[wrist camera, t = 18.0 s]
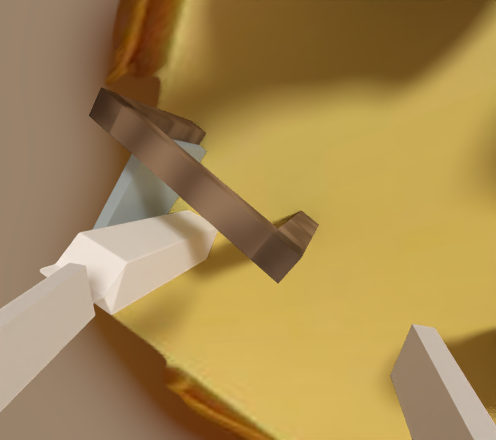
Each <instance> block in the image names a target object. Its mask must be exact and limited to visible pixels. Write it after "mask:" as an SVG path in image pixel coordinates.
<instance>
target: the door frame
mask: <svg viewBox="0 0 496 440" xmlns="http://www.w3.org/2000/svg"><path fill="white" fill-rule="evenodd" d="M89 116H90V117H91V118H92V119H93V120H94V121H96V122H97V123H98V124H99V125H100V126H101V127H102V128H103V129H105V130H106V131H107V132H108V133H109V134H110V135H111V136H112V137H114V138H115V139H116V140H117V141H118V142H119V143H120V144H121V145H123V146H124V147H125V148H126V149H127V150H128V151H129V152H130V153H132V154H133V155H134V156H135V157H136V158H137V159H138V160H139V161H141V162H142V163H143V164H144V165H145V166H146V167H147V168H148V169H150V170H151V171H152V172H153V173H154V174H155V175H156V176H157V177H159V178H160V179H161V180H162V181H163V182H164V183H165V184H166V185H168V186H169V187H170V188H171V189H172V190H173V191H174V192H175V193H177V194H178V195H179V196H180V197H181V198H182V199H183V200H184V201H186V202H187V203H188V204H189V205H190V206H191V207H192V208H193V209H195V210H196V211H197V212H198V213H199V214H200V215H201V216H202V217H204V218H205V219H206V220H207V221H208V222H209V223H210V224H211V225H213V226H214V227H215V228H216V229H217V230H218V231H219V232H220V233H222V234H223V235H224V236H225V237H226V238H227V239H228V240H229V241H231V242H232V243H233V244H234V245H235V246H236V247H237V248H238V249H240V250H241V251H242V252H243V253H244V254H245V255H246V256H247V257H249V258H250V259H251V260H252V261H253V262H254V263H255V264H256V265H258V266H259V267H260V268H261V269H262V270H263V271H264V272H265V273H267V274H268V275H269V276H270V277H271V278H272V279H273V280H274V281H276V282H277V283H279V282H280V281H281V280H282V279H283V278H284V276H285V275H286V274H287V273H288V272H289V271H290V270H291V269H292V268H293V267H294V265H295V264H296V263H297V262H298V261H299V260H300V259H301V257H302V256H303V254H304V252H305V250H306V248H307V246H308V244H309V242H310V240H311V239H312V237H313V235H314V233H315V231H316V229H317V227H318V225H319V224H317V223H316V222H315V221H314V220H312V219H311V218H310V217H309V216H307V215H306V214H305V213H304V212H303V211H300V212H299V213H298V214H296V215H295V216H294V217H292V218H291V219H290V220H289V221H287V222H286V223H285V224H283V225H282V226H281V227H279V228H278V229H277V228H276V227H275V226H274V225H273V224H272V223H270V222H269V221H268V220H267V219H266V218H264V217H263V216H262V215H261V214H260V213H259V212H257V211H256V210H255V209H254V208H253V207H251V206H250V205H249V204H248V203H247V202H246V201H244V200H243V199H242V198H241V197H240V196H238V195H237V194H236V193H235V192H234V191H232V190H231V189H230V188H229V187H228V186H227V185H225V184H224V183H223V182H222V181H221V180H219V179H218V178H217V177H216V176H215V175H214V174H212V173H211V172H210V171H209V170H208V169H206V168H205V167H204V166H203V165H202V164H201V163H199V162H198V161H197V160H196V159H195V158H193V157H192V156H191V155H190V154H189V153H187V152H186V151H185V150H184V149H183V148H182V147H180V146H179V145H178V144H177V143H176V142H174V141H173V140H172V139H174V140H178V141H183V142H187V143H192V144H196V145H199V144H200V142H201V141H202V139H203V137H204V136H205V134H206V133H205V132H204V131H203V130H202V129H201V128H199V127H198V126H197V125H196V124H194V123H193V122H192V121H190V120H187V119H184V118H182V117H179V116H176V115H174V114H171V113H168V112H165V111H163V110H160V109H157V108H155V107H152V106H149V105H147V104H144V103H141V102H139V101H136V100H133V99H131V98H128V97H125V96H122V95H120V94H117V93H114V92H111V91H109V90H106V89H104V88H101V89H100V91H99V94H98V96H97V99H96V101H95V103H94V105H93V108H92V110H91V112H90V114H89Z"/></svg>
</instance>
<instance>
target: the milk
mask: <svg viewBox="0 0 496 440" xmlns="http://www.w3.org/2000/svg"><path fill="white" fill-rule="evenodd" d="M217 231H218V230H217V229H216V228H215V227H214V226H213V225H211V224H210V223H209V222H208V221H207V220H206V219H204V218H203V217H201V216H199V215H197V214H195V213H193V212H191V211H189V210H186V211H181V212H176V213H172V214H167V215H162V216H157V217H152V218H147V219H143V220H138V221H133V222H128V223H123V224H118V225H114V226H109V227H104V228H99V229H94V230H89V231H85V232H81V233H79V234H78V235H77V236H76V237H75V239H74V240H73V242H72V243H71V244H70V245H69V247H68V248H67V250H66V251H65V252H64V253H63V255H62V256H61V257H60V259H59V260H58V261H57V263H56V264H54V265H51V266H47V267H44V268H42V269H40V272H41V273H42V274H44V275H45V276H47V277H49V276H50V275H52V274H53V273H55V272H56V271H58V270H59V269H61V268H62V267H64V266H65V265H67V264H68V263H75V264H81V265H86V269H87V275H88V280H89V285H90V290H91V296H92V301H93V303H95V304H97V305H98V306H99V307H100V308H102V309H103V310H105V311H106V312H108V313H109V314H110V315H113V314H115V313H116V312H118V311H120V310H121V309H123V308H125V307H126V306H128V305H130V304H132V303H133V302H135V301H137V300H138V299H140V298H142V297H143V296H145V295H147V294H148V293H150V292H152V291H153V290H155V289H157V288H159V287H160V286H162V285H164V284H165V283H167V282H169V281H170V280H172V279H174V278H175V277H177V276H179V275H180V274H182V273H184V272H186V271H187V270H189V269H191V268H192V267H194V266H196V265H197V264H199V263H201V262H202V261H204V260H206V259H207V257H208V255H209V252H210V249H211V247H212V244H213V242H214V239H215V237H216V234H217Z"/></svg>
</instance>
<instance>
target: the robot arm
mask: <svg viewBox="0 0 496 440" xmlns="http://www.w3.org/2000/svg"><path fill="white" fill-rule="evenodd" d="M94 316H95V312H94V306H93V301H92V296H91V290H90V285H89V280H88V275H87V269H86V265H81V264H75V263H68V264H67V265H65V266H64V267H62V268H61V269H59V270H58V271H56V272H55V273H53V274H52V275H50V276H49V277H47V278H46V279H44V280H43V281H41V282H40V283H38V284H37V285H35V286H34V287H32V288H31V289H30V290H28V291H26V292H25V293H24V294H22V295H21V296H19V297H18V298H16V299H15V300H13V301H12V302H10V303H9V304H7V305H6V306H4V307H3V308H1V309H0V412H1V411H2V410H3V409H4V407H6V406H7V405H8V404H9V403H10V402H11V401H12V399H14V397H15V396H16V395H17V394H18V393H19V392H20V391H21V390H22V389H23V388H24V387H25V386H26V385H27V384H28V383H29V382H30V381H31V380H32V379H33V378H34V377H35V376H36V375H37V374H38V373H39V372H40V371H41V370H42V369H43V368H44V367H45V366H46V365H47V364H48V363H49V362H50V361H51V360H52V359H53V358H54V357H55V356H56V355H57V354H58V353H59V352H60V351H61V350H62V349H63V348H64V347H65V346H66V345H67V344H68V342H70V341H71V340H72V339H73V338H74V337H75V335H77V334H78V333H79V331H80V330H81V329H82V328H83V327H84V326H85V325H86V324H87V323H88V322H89V321H90V320H91V319H92V318H93V317H94ZM390 376H391V379H392V382H393V385H394V388H395V391H396V394H397V397H398V400H399V402H400V405H401V408H402V411H403V414H404V417H405V420H406V423H407V426H408V428H409V431H410V434H411V437H412V440H496V425H495V423H494V422H493V420H492V419H491V417H490V415H489V414H488V412H487V411H486V409H485V407H484V406H483V404H482V403H481V401H480V399H479V398H478V396H477V395H476V393H475V391H474V390H473V388H472V387H471V385H470V383H469V382H468V380H467V379H466V377H465V375H464V374H463V372H462V371H461V369H460V367H459V366H458V364H457V363H456V361H455V359H454V358H453V356H452V355H451V353H450V351H449V350H448V348H447V347H446V345H445V343H444V342H443V340H442V339H441V337H440V335H439V334H438V332H437V331H436V329H435V328H433V327H427V326H422V325H416V324H412V326H411V328H410V330H409V333H408V335H407V337H406V340H405V342H404V345H403V347H402V349H401V352H400V354H399V356H398V359H397V361H396V363H395V366H394V368H393V371H392V373H391V375H390Z"/></svg>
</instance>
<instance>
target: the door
mask: <svg viewBox="0 0 496 440" xmlns="http://www.w3.org/2000/svg"><path fill="white" fill-rule="evenodd" d="M172 140H173V141H174V142H176V143H177V144H178V145H179V146H180V147H182V148H183V149H184V150H185V151H186V152H187V153H189V154H190V155H191V156H192V157H193V158H195V159H196V160H197V161H198V162H199V163H200V161H201V159H202V158H203V156H204V155H205V153H206V150H205V149H203V148H202V147H201V146H200V145H196V144H192V143H187V142H183V141H178V140H174V139H172ZM178 196H179V195H178V194H177V193H175V192H174V191H173V190H172V189H171V188H170V187H169V186H168V185H166V184H165V183H164V182H163V181H162V180H161V179H160V178H159V177H157V176H156V175H155V174H154V173H153V172H152V171H151V170H150V169H148V168H147V167H146V166H145V165H144V164H143V163H142V162H141V161H139V160H138V159H137V158H136V157H135V156H134V155H133V154H132V155H131V156H130V158H129V160H128V162H127V164H126V166H125V168H124V170H123V172H122V174H121V176H120V178H119V180H118V182H117V183H116V186H115V187H114V189H113V191H112V193H111V195H110V197H109V199H108V201H107V203H106V205H105V207H104V208H103V210H102V212H101V214H100V216H99V218H98V220H97V222H96V224H95V226H94V228H93V230H94V229H99V228H104V227H109V226H114V225H118V224H123V223H128V222H133V221H138V220H143V219H147V218H152V217H157V216H162V215H167V214H168V212H169V211H170V209H171V207H172V206H173V204H174V203H175V201H176V199H177V198H178Z"/></svg>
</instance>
